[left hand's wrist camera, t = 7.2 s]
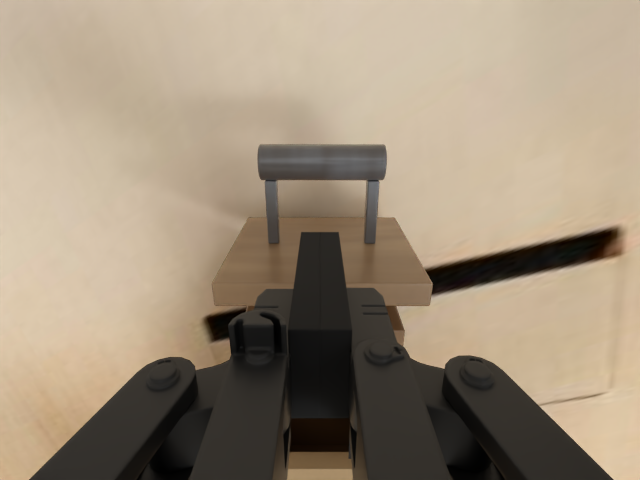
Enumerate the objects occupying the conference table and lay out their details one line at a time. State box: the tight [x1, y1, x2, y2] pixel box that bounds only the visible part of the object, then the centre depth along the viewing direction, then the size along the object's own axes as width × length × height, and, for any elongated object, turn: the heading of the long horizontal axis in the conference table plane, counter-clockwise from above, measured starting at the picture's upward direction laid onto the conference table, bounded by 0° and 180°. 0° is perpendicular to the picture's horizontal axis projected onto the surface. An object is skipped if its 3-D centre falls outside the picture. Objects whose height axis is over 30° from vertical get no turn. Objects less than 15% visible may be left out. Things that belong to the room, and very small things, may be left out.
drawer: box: [212, 144, 433, 452], centre depth 23 cm, size 26×10×9 cm, turn 0°
